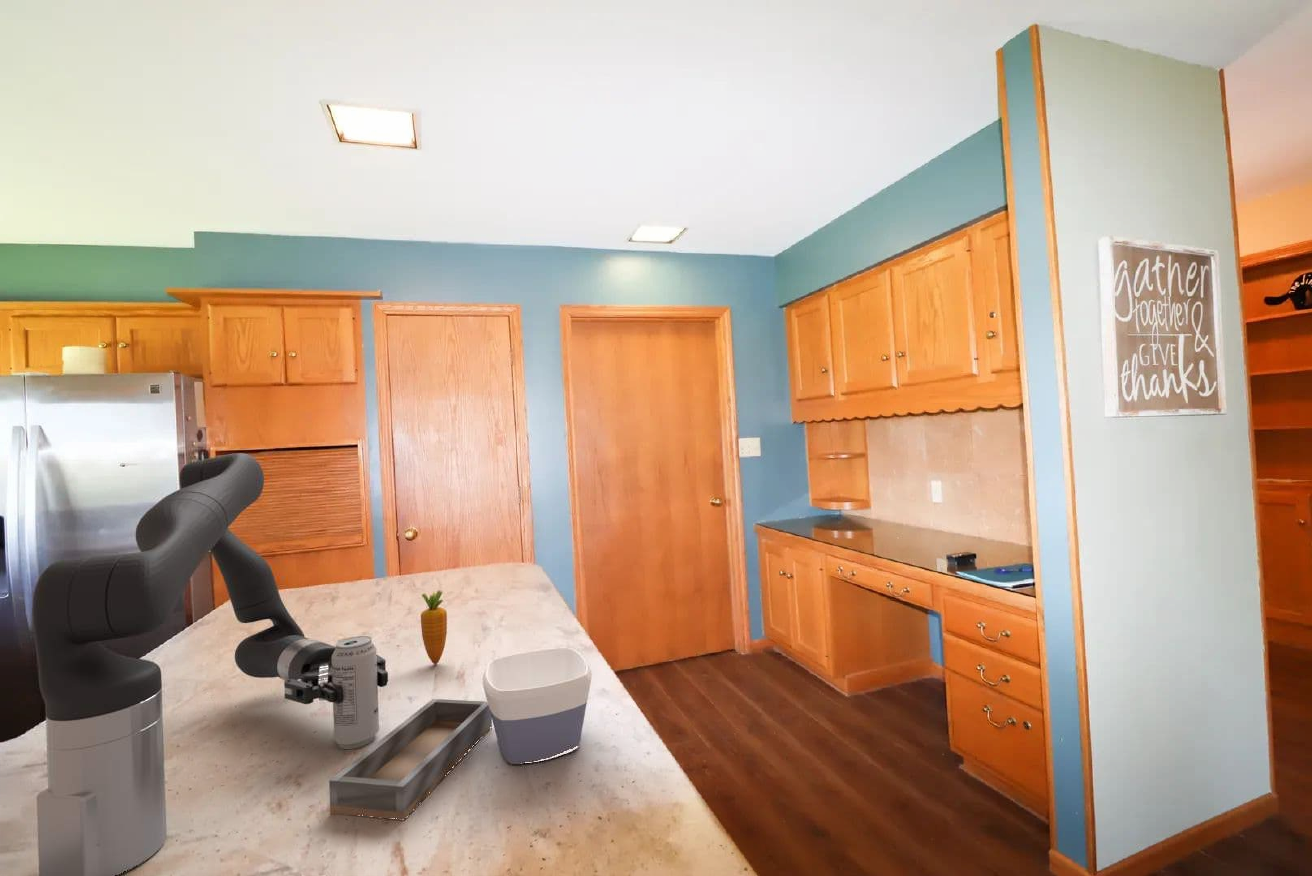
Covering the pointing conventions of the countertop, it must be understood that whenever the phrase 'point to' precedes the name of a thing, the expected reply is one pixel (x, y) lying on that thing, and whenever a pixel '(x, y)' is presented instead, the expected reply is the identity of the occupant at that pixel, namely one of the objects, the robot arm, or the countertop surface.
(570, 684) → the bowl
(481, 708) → the rectangular tray
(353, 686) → the energy drink can
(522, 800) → the countertop surface
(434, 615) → the carrot
